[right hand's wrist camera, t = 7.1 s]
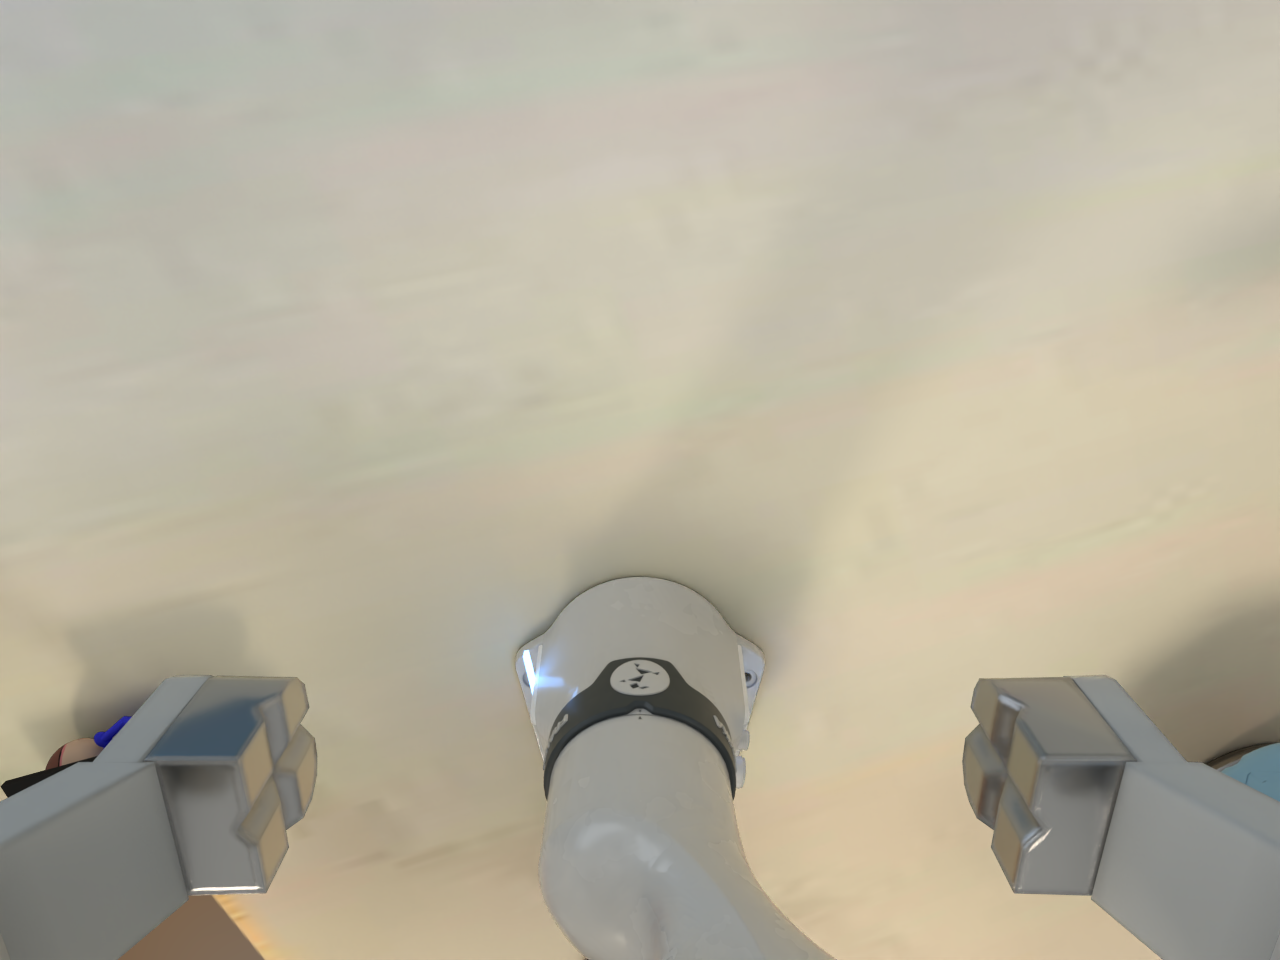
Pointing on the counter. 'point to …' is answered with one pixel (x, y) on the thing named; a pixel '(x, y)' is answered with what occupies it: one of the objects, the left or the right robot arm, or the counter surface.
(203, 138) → the counter surface
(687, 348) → the counter surface
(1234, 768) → the left robot arm
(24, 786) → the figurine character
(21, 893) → the right robot arm
